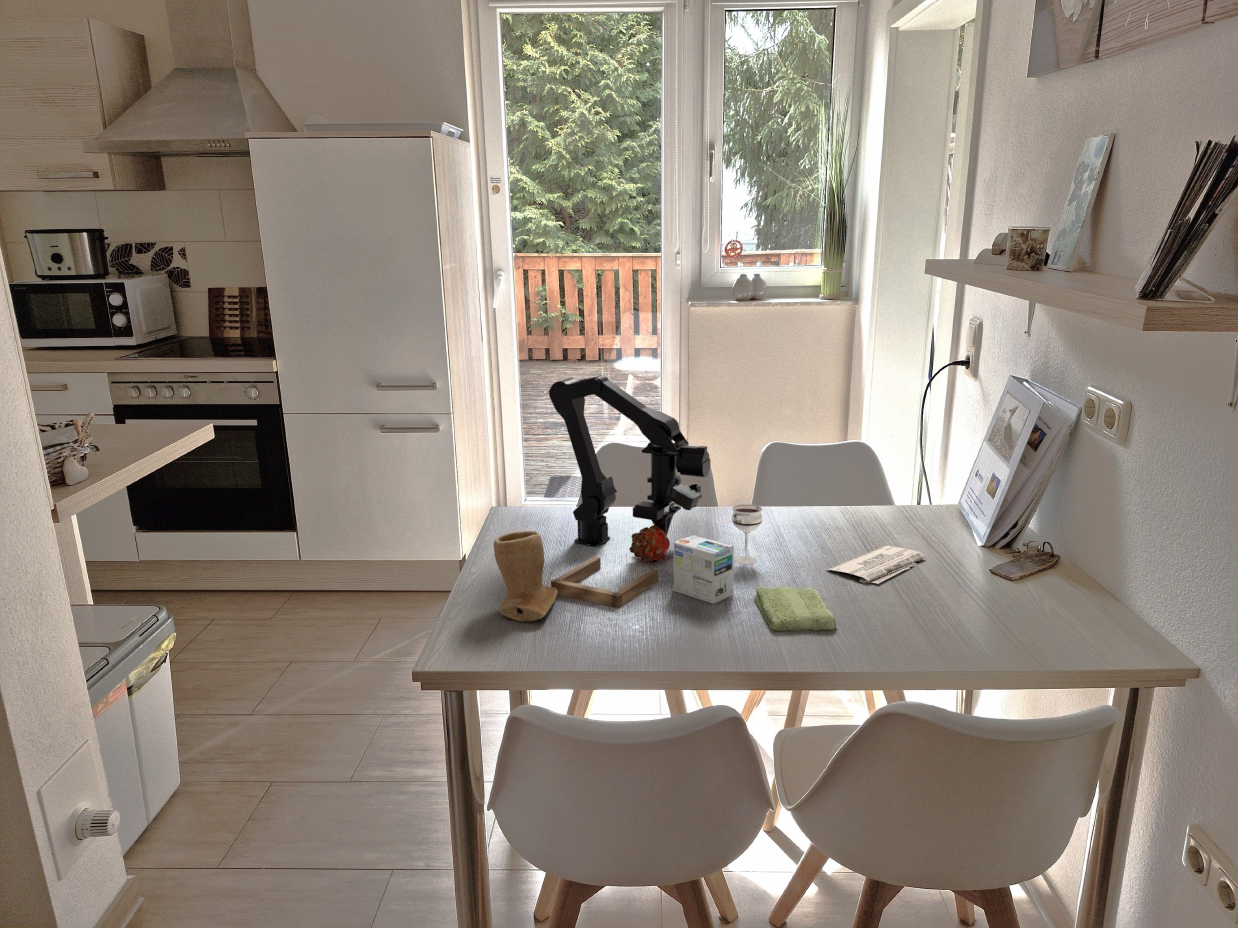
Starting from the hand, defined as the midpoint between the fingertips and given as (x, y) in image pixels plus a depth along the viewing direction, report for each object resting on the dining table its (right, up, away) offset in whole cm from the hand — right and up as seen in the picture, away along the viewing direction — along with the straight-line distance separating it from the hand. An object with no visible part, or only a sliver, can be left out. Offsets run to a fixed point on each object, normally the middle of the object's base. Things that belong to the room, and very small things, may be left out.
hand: (663, 538), depth 202 cm
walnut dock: (-13, -8, -19) cm, 25 cm away
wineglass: (+18, -5, -6) cm, 20 cm away
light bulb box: (+7, -9, -24) cm, 27 cm away
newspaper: (+47, -6, -10) cm, 48 cm away
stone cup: (-29, -11, -30) cm, 43 cm away
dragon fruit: (-3, -4, -4) cm, 7 cm away
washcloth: (+23, -12, -34) cm, 43 cm away
